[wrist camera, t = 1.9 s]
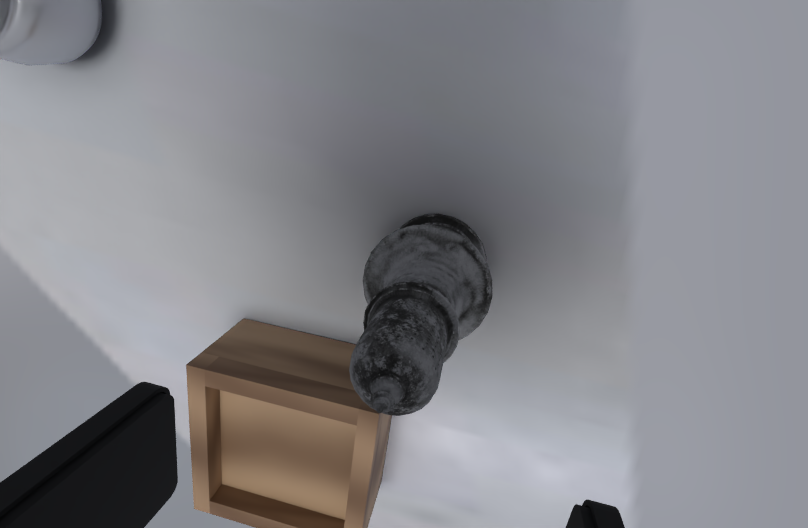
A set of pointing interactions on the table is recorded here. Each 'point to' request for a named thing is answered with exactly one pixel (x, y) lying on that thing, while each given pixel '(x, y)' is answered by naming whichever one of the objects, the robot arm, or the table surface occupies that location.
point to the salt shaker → (418, 310)
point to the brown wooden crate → (282, 431)
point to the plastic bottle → (48, 30)
